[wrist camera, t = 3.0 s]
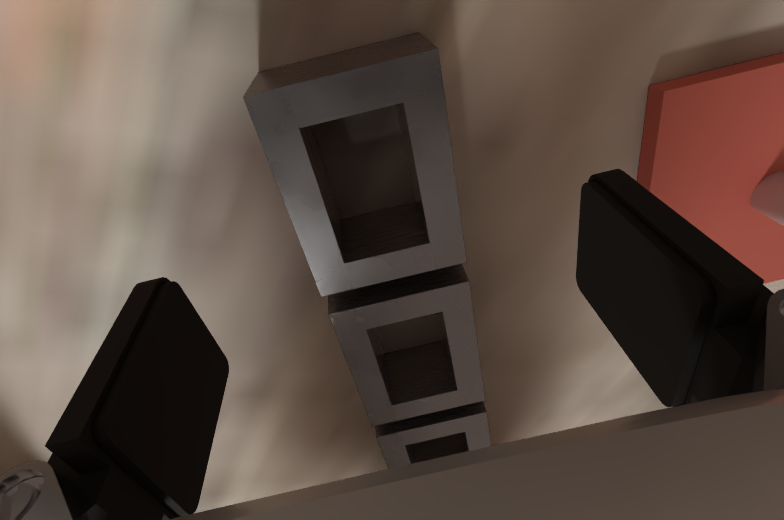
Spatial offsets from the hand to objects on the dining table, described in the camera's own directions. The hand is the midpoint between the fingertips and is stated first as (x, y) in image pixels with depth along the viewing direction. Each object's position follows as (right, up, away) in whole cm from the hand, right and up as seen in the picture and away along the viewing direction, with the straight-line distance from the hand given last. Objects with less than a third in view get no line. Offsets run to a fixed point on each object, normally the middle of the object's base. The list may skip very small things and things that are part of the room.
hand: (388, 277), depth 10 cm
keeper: (+18, +4, +11) cm, 21 cm away
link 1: (+1, -2, +13) cm, 13 cm away
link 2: (+3, -10, +18) cm, 21 cm away
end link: (-1, +5, +8) cm, 9 cm away
